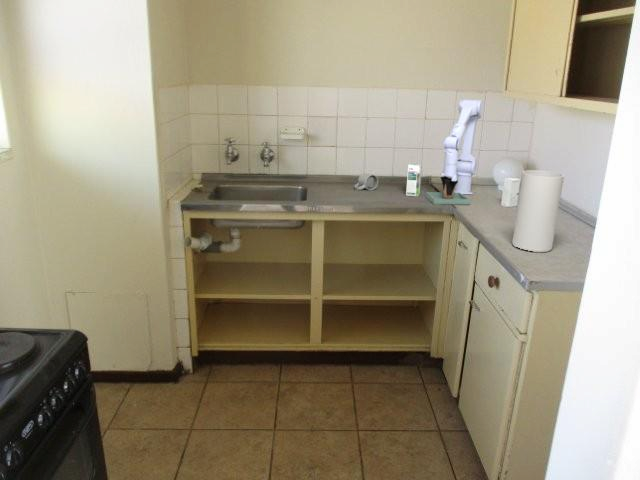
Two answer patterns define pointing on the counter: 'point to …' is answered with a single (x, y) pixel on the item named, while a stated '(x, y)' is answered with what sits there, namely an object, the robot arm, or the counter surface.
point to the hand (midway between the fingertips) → (447, 193)
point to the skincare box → (510, 192)
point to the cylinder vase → (537, 210)
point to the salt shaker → (448, 195)
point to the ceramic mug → (367, 182)
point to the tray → (438, 199)
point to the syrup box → (413, 180)
